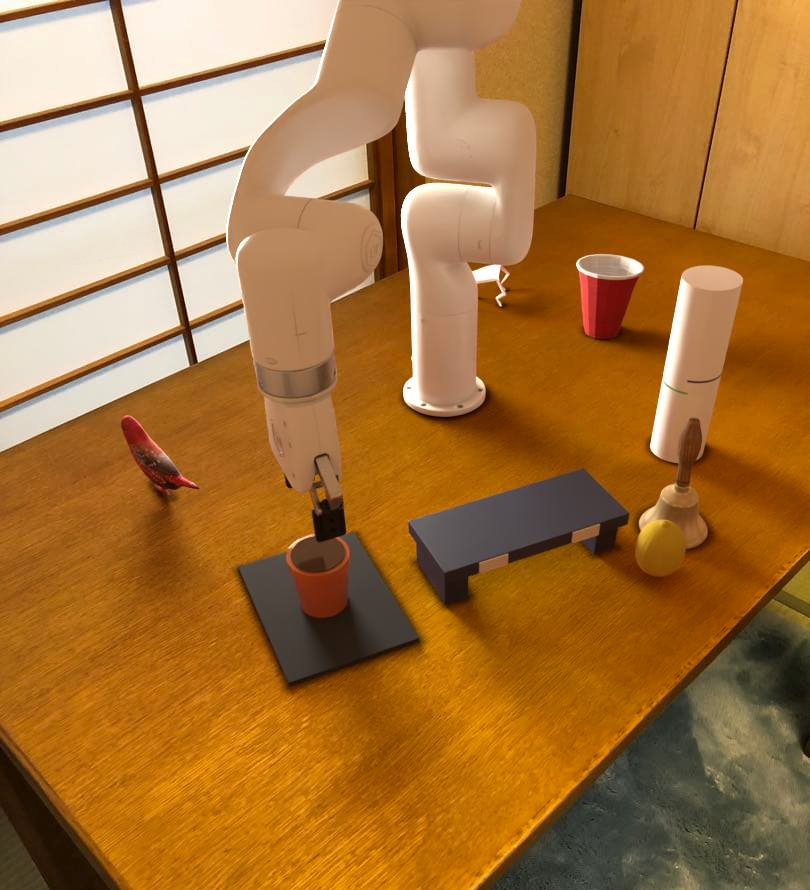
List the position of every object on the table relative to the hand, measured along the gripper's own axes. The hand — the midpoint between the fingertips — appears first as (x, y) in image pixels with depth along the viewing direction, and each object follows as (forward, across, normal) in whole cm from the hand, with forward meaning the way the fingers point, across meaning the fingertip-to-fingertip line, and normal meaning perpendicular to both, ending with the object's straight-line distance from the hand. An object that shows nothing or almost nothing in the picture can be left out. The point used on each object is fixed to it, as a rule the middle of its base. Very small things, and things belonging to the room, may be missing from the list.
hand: (315, 509), depth 93 cm
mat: (+14, +1, -1) cm, 14 cm away
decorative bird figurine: (+14, -27, -13) cm, 33 cm away
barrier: (+14, +3, +23) cm, 27 cm away
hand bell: (+14, +7, +43) cm, 46 cm away
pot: (+13, +1, -1) cm, 13 cm away
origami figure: (+16, -61, +53) cm, 83 cm away
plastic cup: (+15, -41, +64) cm, 78 cm away
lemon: (+14, +13, +36) cm, 41 cm away
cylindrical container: (+15, -7, +54) cm, 57 cm away
